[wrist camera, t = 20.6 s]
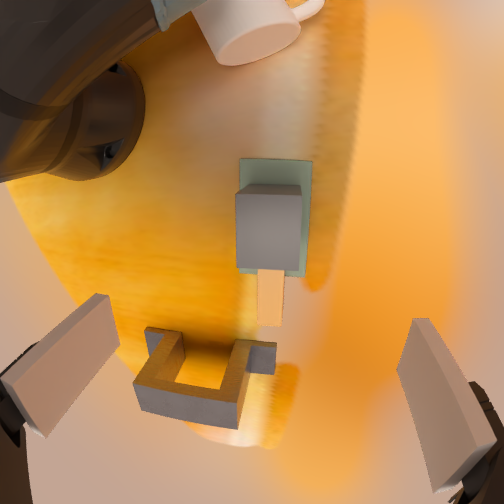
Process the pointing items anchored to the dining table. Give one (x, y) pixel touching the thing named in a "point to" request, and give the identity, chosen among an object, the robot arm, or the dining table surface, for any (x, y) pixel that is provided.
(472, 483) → the robot arm
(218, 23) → the mug
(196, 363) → the dining table surface
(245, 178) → the pad
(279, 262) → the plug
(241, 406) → the housing
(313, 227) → the dining table surface
